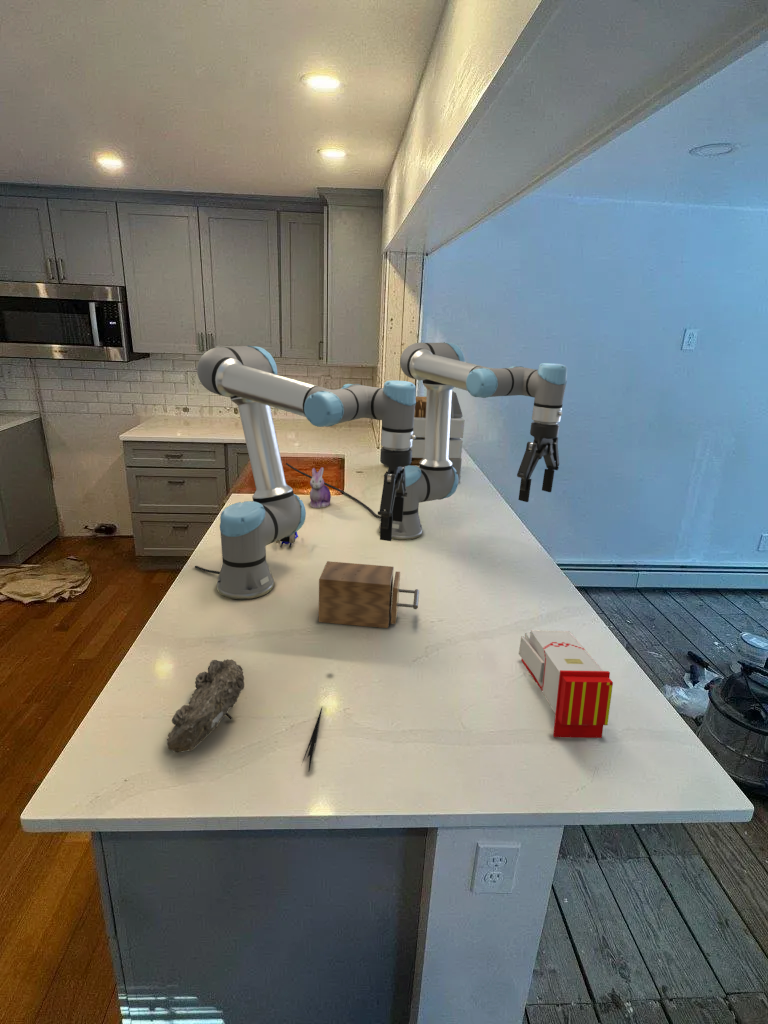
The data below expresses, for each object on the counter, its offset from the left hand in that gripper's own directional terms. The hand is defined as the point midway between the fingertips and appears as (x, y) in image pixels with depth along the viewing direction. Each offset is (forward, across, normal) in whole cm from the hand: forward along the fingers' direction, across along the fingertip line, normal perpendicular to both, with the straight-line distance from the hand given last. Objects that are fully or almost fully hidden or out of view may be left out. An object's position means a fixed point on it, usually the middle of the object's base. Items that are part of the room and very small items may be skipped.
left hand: (391, 530), depth 142 cm
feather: (+22, -46, +3) cm, 51 cm away
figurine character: (+23, +33, +41) cm, 58 cm away
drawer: (+21, -5, +2) cm, 22 cm away
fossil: (+22, -51, +23) cm, 60 cm away
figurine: (+23, +72, +44) cm, 87 cm away
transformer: (+23, +133, +14) cm, 135 cm away
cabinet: (+22, -6, +7) cm, 24 cm away
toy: (+22, -24, -42) cm, 53 cm away
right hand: (-4, +30, -35) cm, 47 cm away
